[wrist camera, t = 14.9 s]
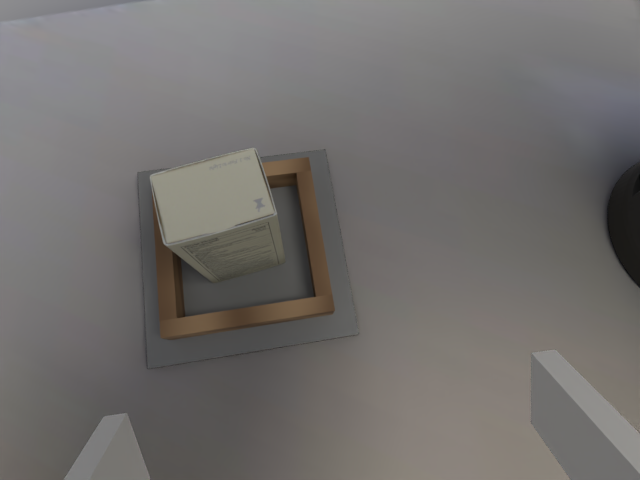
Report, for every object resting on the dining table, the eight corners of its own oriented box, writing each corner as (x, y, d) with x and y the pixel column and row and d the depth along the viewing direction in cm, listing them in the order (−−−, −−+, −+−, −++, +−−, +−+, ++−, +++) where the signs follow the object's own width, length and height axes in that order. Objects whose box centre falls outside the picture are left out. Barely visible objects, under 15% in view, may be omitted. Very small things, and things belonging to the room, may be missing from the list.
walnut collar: (308, 170, 37) (308, 157, 34) (332, 314, 33) (335, 310, 31) (160, 189, 36) (150, 176, 33) (170, 340, 32) (160, 338, 30)
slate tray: (324, 154, 38) (325, 149, 37) (357, 334, 34) (359, 333, 33) (141, 177, 37) (137, 172, 36) (151, 368, 33) (147, 368, 32)
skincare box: (272, 215, 35) (260, 142, 24) (287, 265, 34) (282, 214, 23) (197, 236, 35) (146, 170, 23) (209, 288, 33) (162, 247, 22)
